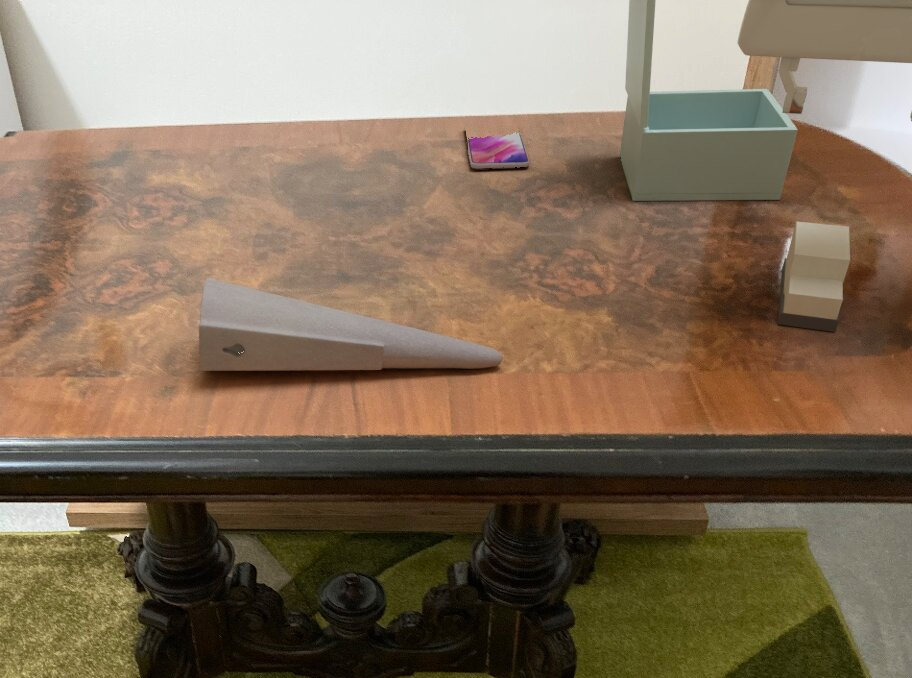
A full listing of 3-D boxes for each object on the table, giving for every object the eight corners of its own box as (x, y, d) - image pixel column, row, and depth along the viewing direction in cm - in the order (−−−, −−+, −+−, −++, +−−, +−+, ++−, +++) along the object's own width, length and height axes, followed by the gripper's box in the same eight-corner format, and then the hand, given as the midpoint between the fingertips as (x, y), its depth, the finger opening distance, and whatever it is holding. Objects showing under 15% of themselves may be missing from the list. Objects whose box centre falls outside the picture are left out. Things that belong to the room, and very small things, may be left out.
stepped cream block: (781, 269, 89) (795, 218, 86) (834, 275, 88) (850, 224, 84) (777, 324, 82) (792, 271, 78) (835, 332, 80) (852, 278, 77)
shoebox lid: (640, -68, 99) (592, -61, 100) (658, -42, 89) (605, -34, 90) (632, 87, 109) (589, 92, 110) (647, 127, 99) (600, 132, 100)
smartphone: (517, 121, 124) (530, 162, 112) (517, 127, 125) (529, 169, 113) (463, 122, 125) (470, 163, 113) (463, 128, 125) (470, 170, 113)
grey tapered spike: (496, 277, 83) (209, 261, 82) (511, 325, 76) (197, 308, 75) (482, 351, 87) (210, 336, 87) (495, 402, 80) (200, 387, 80)
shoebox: (752, 154, 112) (767, 88, 107) (780, 200, 101) (798, 129, 96) (619, 156, 114) (628, 92, 109) (632, 201, 104) (643, 132, 99)
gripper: (1076, -84, 65) (999, 112, 74) (764, -84, 73) (726, 95, 81) (1094, -68, 61) (1009, 139, 69) (759, -69, 68) (720, 119, 77)
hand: (854, 115), depth 75 cm, fingers open, 8 cm apart
